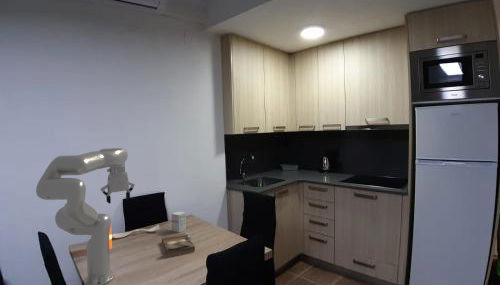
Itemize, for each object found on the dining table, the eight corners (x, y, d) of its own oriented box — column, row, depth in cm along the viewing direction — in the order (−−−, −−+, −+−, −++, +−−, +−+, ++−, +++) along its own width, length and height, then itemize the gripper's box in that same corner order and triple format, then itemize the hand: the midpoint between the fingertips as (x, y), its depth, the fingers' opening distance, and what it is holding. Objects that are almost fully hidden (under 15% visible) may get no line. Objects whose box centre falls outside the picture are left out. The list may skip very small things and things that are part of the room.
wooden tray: (194, 251, 157) (194, 241, 157) (168, 257, 150) (168, 246, 150) (185, 237, 178) (184, 228, 178) (161, 242, 172) (161, 232, 171)
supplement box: (171, 231, 191) (170, 213, 190) (178, 227, 197) (178, 210, 197) (179, 232, 187) (178, 214, 187) (186, 229, 194) (186, 212, 194)
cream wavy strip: (161, 232, 189) (161, 227, 189) (110, 241, 175) (109, 236, 175) (159, 228, 197) (159, 224, 197) (110, 236, 183) (110, 231, 183)
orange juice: (106, 244, 169) (104, 213, 169) (112, 248, 164) (111, 215, 163) (92, 248, 163) (91, 216, 163) (98, 252, 158) (97, 219, 157)
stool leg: (189, 243, 160) (189, 237, 160) (190, 245, 157) (190, 239, 157) (166, 248, 154) (166, 241, 154) (167, 250, 151) (167, 243, 151)
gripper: (102, 173, 139) (103, 205, 140) (136, 169, 151) (137, 199, 151) (98, 171, 144) (99, 203, 145) (131, 168, 156) (132, 197, 157)
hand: (118, 201), depth 148 cm, fingers open, 9 cm apart
